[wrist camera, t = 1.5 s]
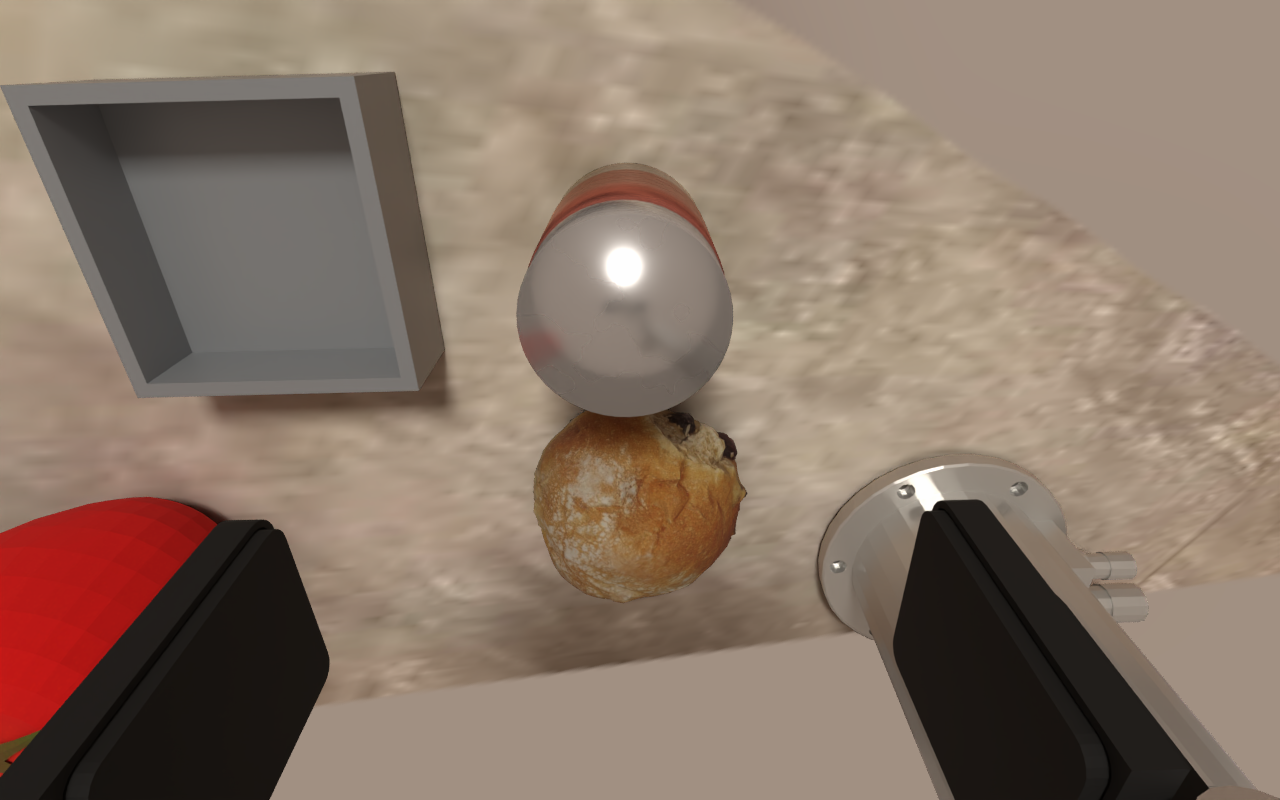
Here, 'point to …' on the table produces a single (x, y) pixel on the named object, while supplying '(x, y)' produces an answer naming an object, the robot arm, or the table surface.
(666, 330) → the red drink can
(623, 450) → the bread roll
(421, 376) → the crate
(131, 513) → the tomato
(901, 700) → the robot arm
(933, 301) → the table surface
